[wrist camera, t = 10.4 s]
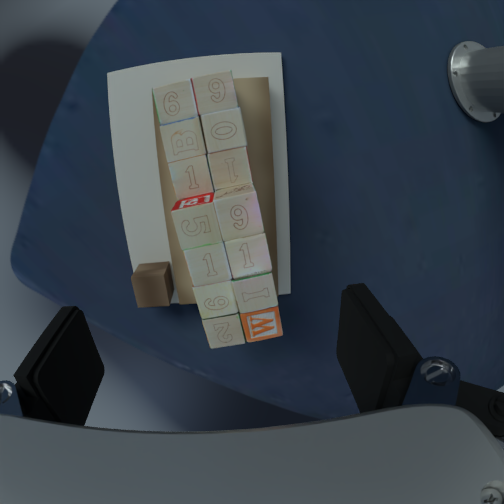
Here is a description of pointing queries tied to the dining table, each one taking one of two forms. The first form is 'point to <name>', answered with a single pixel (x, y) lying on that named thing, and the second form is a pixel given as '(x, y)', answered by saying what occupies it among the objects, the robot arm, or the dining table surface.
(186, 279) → the oak plinth
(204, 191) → the stack of blocks
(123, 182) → the cream tile
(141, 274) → the walnut cube
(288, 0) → the dining table surface
